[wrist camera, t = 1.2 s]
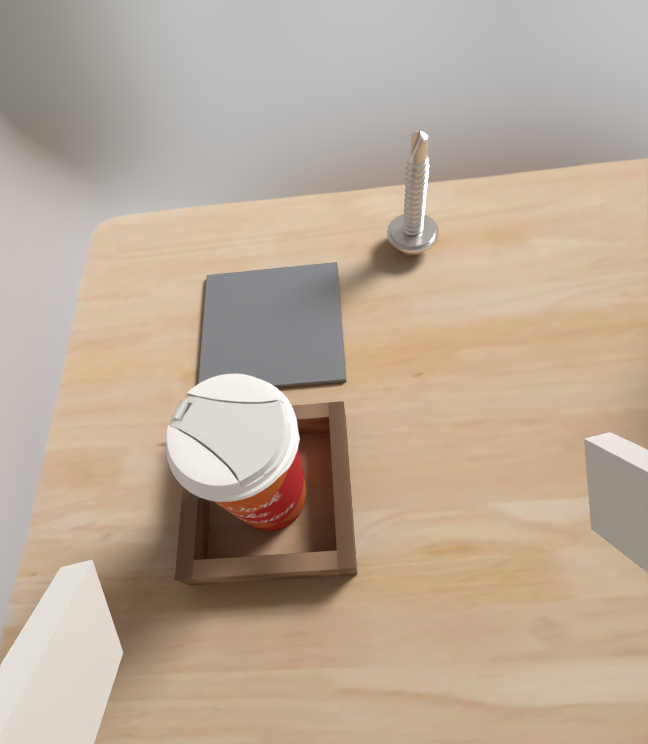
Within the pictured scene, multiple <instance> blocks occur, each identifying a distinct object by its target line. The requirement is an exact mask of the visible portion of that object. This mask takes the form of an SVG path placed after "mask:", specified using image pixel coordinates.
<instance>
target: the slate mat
mask: <svg viewBox="0 0 648 744" xmlns="http://www.w3.org/2000/svg"><path fill="white" fill-rule="evenodd" d="M224 374H245V375H249V376H253V377H255V378H258V379H261V380H263V381H266V382H268V383H270V384H271V385H273V386H275V387H276V388H279V387H291V386H303V385H314V384H326V383H337V382H346V370H345V357H344V344H343V331H342V319H341V306H340V293H339V280H338V267H337V262H334V263H324V264H314V265H304V266H294V267H284V268H274V269H264V270H254V271H244V272H234V273H224V274H214V275H207V279H206V292H205V305H204V318H203V331H202V343H201V356H200V369H199V382H198V384H199V383H201V382H203V381H205V380H207V379H209V378H212V377H215V376H218V375H224Z"/></svg>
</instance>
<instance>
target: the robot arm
mask: <svg viewBox="0 0 648 744" xmlns="http://www.w3.org/2000/svg"><path fill="white" fill-rule="evenodd" d="M584 443H585V455H586V467H587V480H588V492H589V504H590V517H591V529H592V530H594V531H595V532H596V533H597V534H599V535H600V536H601V537H603V538H604V539H605V540H606V541H608V542H609V543H610V544H612V545H613V546H614V547H615V548H617V549H618V550H619V551H621V552H622V553H623V554H624V555H626V556H627V557H628V558H630V559H631V560H632V561H633V562H635V563H636V564H637V565H638V566H640V567H641V568H642V569H644V570H645V571H646V572H647V573H648V450H647V449H645V448H643V447H641V446H638V445H636V444H634V443H632V442H630V441H628V440H626V439H624V438H621V437H619V436H617V435H615V434H613V433H611V432H609V433H605V434H601V435H597V436H593V437H589V438H585V439H584ZM122 655H123V650H122V647H121V644H120V641H119V638H118V635H117V632H116V629H115V626H114V623H113V620H112V617H111V614H110V611H109V608H108V605H107V602H106V599H105V596H104V593H103V590H102V587H101V584H100V581H99V578H98V575H97V572H96V569H95V566H94V563H93V560H89V561H85V562H80V563H76V564H72V565H68V566H64V567H61V568H60V569H59V571H58V572H57V574H56V576H55V577H54V579H53V581H52V582H51V584H50V585H49V587H48V589H47V590H46V592H45V593H44V595H43V597H42V598H41V600H40V602H39V603H38V605H37V606H36V608H35V610H34V611H33V613H32V615H31V616H30V618H29V619H28V621H27V623H26V624H25V626H24V628H23V629H22V631H21V632H20V634H19V636H18V637H17V639H16V641H15V642H14V644H13V645H12V647H11V649H10V650H9V652H8V654H7V655H6V657H5V658H4V660H3V662H2V663H1V665H0V744H94V742H95V739H96V736H97V733H98V730H99V726H100V723H101V720H102V717H103V714H104V711H105V708H106V705H107V702H108V698H109V695H110V692H111V689H112V686H113V683H114V680H115V677H116V674H117V670H118V667H119V664H120V661H121V658H122Z"/></svg>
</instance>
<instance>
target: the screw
mask: <svg viewBox="0 0 648 744" xmlns="http://www.w3.org/2000/svg"><path fill="white" fill-rule="evenodd" d="M427 148H428V135H427V134H425V133H423V132H421V131H416V132H414V133H413V134H412V140H411V156H410V158H409V159H408V161H407V163H408V165H407V167H406V169H407V172H406V176H407V177H406V184H405V186H406V189H405V192H406V193H405V204H404V207H405V209H404V212H405V213H404V214H403V215H400V216H398V217H397V218H395V219H394V220H393V221H392V222H391V223H390V225H389V226H388V230H387V236H388V240H389V242H390V243H391V245H392V246H394V247H395V248H396V249H398V250H400V251H402V253H403V254H404V255H420V253H421V252H422V251H425V250H427V249H429V248H431V247H432V246H433V245H434V244H435V242H436V241H437V238H438V226H437V225H436V223H435V222H434V221H433V220H432V219H431V218H430V217H428V216H426V215H424V214H425V212H424V211H425V204H426V202H425V201H426V194H427V191H426V190H427V183H428V181H427V179H428V172H429V169H428V168H429V162H428V161H429V157H428V155H427Z"/></svg>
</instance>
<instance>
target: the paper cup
mask: <svg viewBox="0 0 648 744" xmlns="http://www.w3.org/2000/svg"><path fill="white" fill-rule="evenodd" d="M299 440H300V438H299V432H298V426H297V419H296V416H295V413H294V410H293V408H292V406H291V404H290V402H289V400H288V399H287V398H286V397H285V395H284V394H283V393H282V392H281V391H280V390H278V389H277V388H276V387H275V386H273V385H271V384H270V383H268V382H266V381H263V380H261V379H258V378H255V377H253V376H249V375H245V374H224V375H218V376H215V377H212V378H209V379H207V380H205V381H203V382H201V383H199V384H198V385H196V386H195V387H193V388H192V389H191V390H190V391H188V392H187V396H186V398H185V399H184V401H181V403H180V404H179V406H178V408H177V409H176V411H175V413H174V415H173V416H172V420H171V422H170V425H169V426H168V427H167V433H166V456H167V461H168V464H169V467H170V469H171V471H172V473H173V475H174V477H175V478H176V480H177V481H178V482H179V483H180V484H181V485H182V486H183V487H184V488H185V489H187V490H188V491H189V492H190V493H192V494H194V495H196V496H198V497H200V498H203V499H206V500H210V501H214V502H215V503H217V504H218V505H220V506H221V507H223V508H224V509H226V510H227V511H228V512H230V513H231V514H233V515H234V516H236V517H237V518H239V519H240V520H242V521H243V522H245V523H247V524H248V525H250V526H252V527H254V528H257V529H260V530H265V531H273V530H278V529H281V528H284V527H286V526H288V525H289V524H291V523H292V522H293V521H294V520H295V519H296V518H297V517H298V516H299V514H300V513H301V511H302V509H303V507H304V504H305V500H306V484H305V478H304V474H303V469H302V464H301V460H300V456H299V451H298V445H299Z"/></svg>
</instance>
